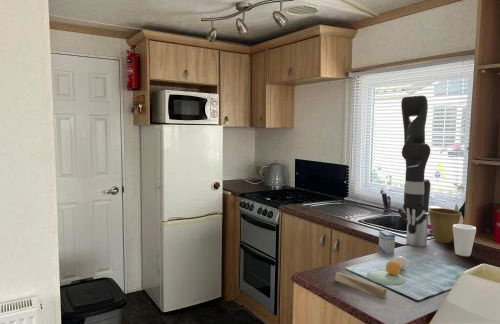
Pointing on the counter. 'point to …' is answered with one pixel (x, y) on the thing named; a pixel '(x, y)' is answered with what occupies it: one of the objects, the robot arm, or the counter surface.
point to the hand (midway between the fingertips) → (412, 233)
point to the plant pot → (443, 223)
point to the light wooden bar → (361, 285)
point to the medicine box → (386, 242)
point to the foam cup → (463, 239)
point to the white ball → (401, 261)
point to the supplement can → (429, 229)
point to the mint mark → (386, 278)
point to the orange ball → (393, 268)
